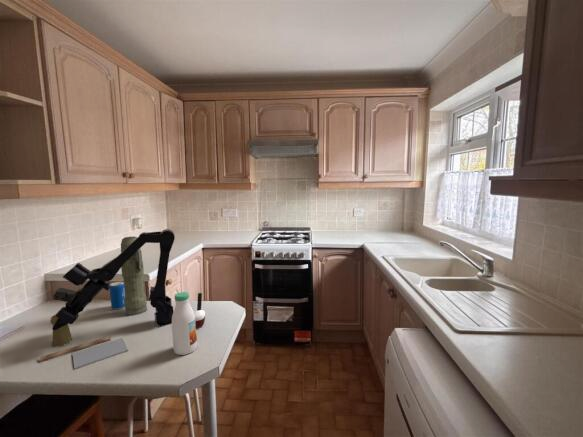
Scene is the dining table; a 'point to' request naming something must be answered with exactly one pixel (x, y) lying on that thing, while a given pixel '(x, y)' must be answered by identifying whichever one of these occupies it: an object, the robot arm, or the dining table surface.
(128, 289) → the thermos
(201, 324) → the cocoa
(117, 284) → the beverage can
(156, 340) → the dining table surface
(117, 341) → the mat
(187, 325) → the milk bottle
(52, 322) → the cork
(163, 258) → the robot arm
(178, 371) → the dining table surface
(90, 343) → the walnut line
